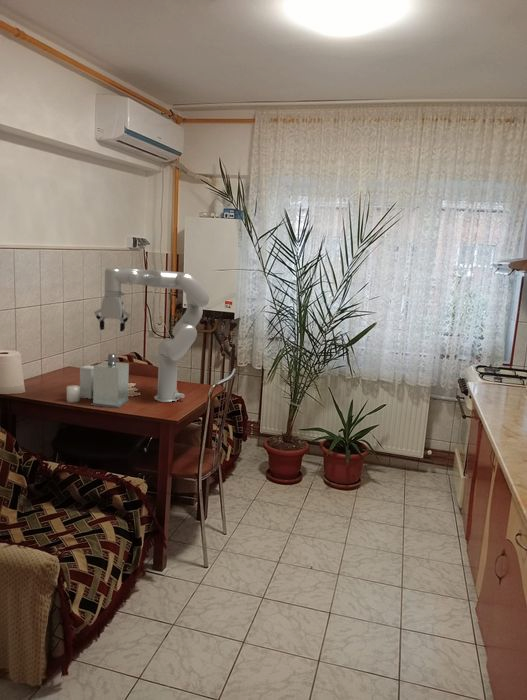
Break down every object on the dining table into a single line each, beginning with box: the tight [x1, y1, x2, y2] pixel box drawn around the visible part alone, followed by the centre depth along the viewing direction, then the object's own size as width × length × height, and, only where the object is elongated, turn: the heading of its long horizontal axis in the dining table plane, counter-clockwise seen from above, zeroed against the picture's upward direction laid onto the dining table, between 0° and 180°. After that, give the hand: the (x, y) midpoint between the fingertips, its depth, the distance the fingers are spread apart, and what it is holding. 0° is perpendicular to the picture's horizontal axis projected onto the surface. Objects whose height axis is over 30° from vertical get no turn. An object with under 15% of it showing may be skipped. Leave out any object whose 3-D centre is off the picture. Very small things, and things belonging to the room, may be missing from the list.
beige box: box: [92, 353, 130, 406], centre depth 261 cm, size 12×13×23 cm
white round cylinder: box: [66, 384, 81, 403], centre depth 262 cm, size 6×6×7 cm
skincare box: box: [79, 364, 95, 400], centre depth 270 cm, size 8×7×16 cm
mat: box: [90, 398, 130, 409], centre depth 262 cm, size 14×14×1 cm
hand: (112, 330), depth 257 cm, fingers open, 9 cm apart
